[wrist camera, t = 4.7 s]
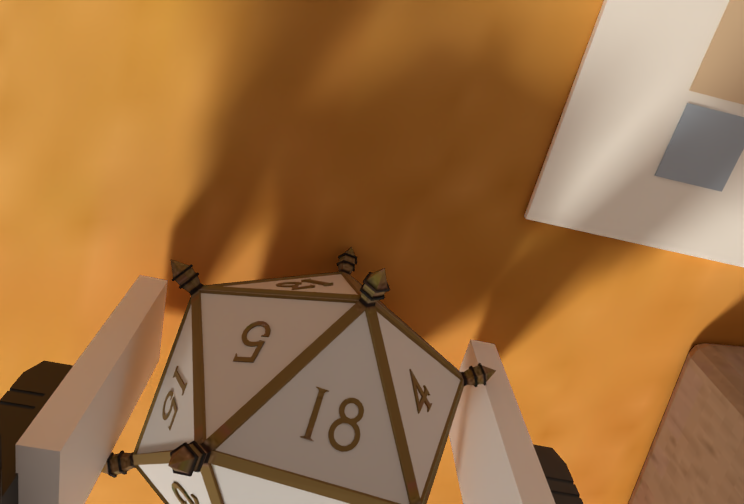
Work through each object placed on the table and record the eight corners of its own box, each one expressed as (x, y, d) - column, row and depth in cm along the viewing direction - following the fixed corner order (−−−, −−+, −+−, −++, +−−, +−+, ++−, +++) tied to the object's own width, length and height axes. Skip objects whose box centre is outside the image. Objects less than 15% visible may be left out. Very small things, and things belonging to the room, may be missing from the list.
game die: (368, 249, 21) (634, 357, 14) (286, 469, 21) (504, 694, 14) (120, 163, 15) (356, 273, 8) (11, 472, 15) (135, 866, 8)
